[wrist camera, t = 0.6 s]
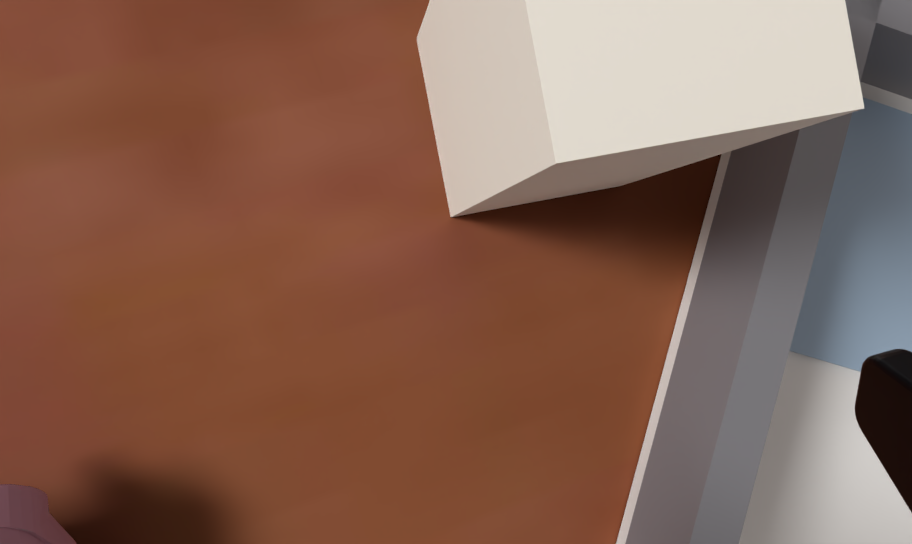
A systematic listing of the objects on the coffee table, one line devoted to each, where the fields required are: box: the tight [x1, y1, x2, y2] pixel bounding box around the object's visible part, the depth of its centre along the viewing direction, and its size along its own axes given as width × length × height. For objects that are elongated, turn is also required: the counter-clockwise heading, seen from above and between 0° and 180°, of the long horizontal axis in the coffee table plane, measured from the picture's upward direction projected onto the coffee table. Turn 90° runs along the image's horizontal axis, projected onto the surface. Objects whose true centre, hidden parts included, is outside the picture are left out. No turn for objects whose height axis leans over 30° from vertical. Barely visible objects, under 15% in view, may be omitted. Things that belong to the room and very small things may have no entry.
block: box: [417, 0, 864, 217], centre depth 18 cm, size 5×5×11 cm
